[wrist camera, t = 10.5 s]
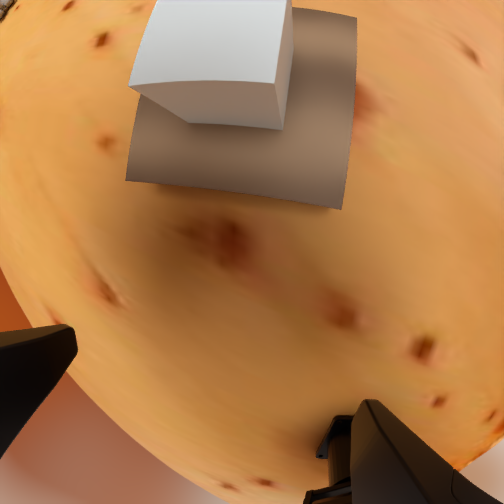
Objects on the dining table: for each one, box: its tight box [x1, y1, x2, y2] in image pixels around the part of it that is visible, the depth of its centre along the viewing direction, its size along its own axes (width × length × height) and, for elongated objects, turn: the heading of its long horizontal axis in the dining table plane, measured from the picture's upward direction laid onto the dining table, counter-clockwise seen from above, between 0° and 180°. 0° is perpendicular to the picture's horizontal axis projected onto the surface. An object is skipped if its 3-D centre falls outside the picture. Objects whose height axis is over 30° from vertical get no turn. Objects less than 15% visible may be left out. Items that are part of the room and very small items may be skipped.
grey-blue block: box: [128, 0, 293, 130], centre depth 9 cm, size 5×5×6 cm
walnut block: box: [125, 7, 357, 210], centre depth 14 cm, size 12×12×4 cm
